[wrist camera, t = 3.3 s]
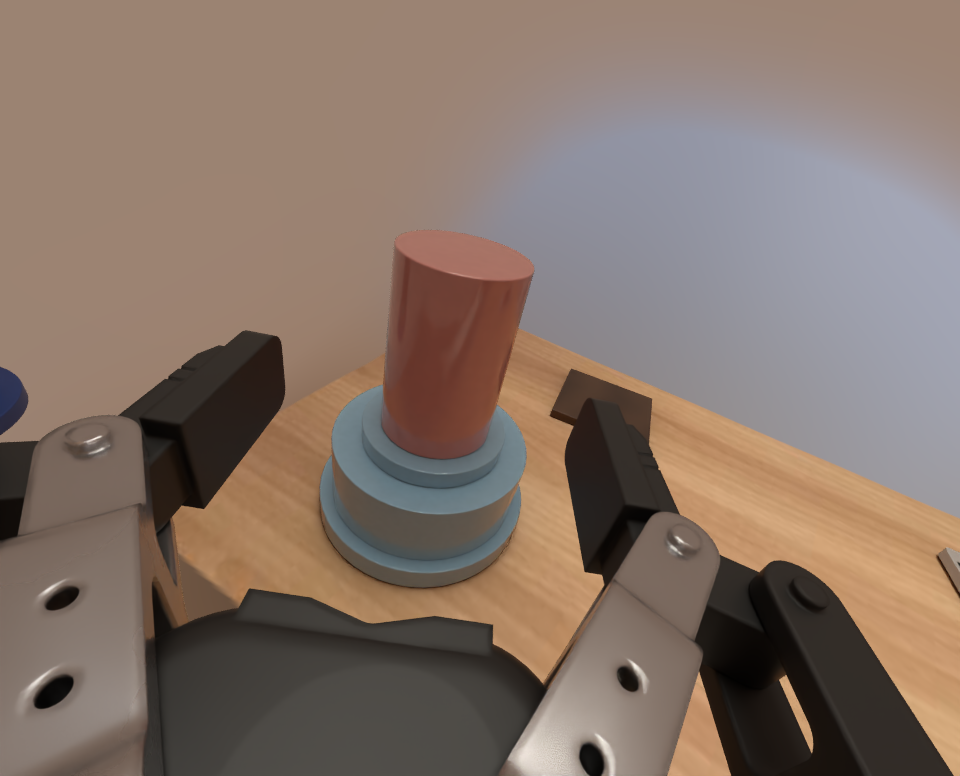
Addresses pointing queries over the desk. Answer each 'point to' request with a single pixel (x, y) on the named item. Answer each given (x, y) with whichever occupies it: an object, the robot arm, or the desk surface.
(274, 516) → the desk surface
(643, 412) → the coaster
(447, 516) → the blue stepped cylinder
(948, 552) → the smartphone
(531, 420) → the desk surface
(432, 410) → the terracotta cylinder
